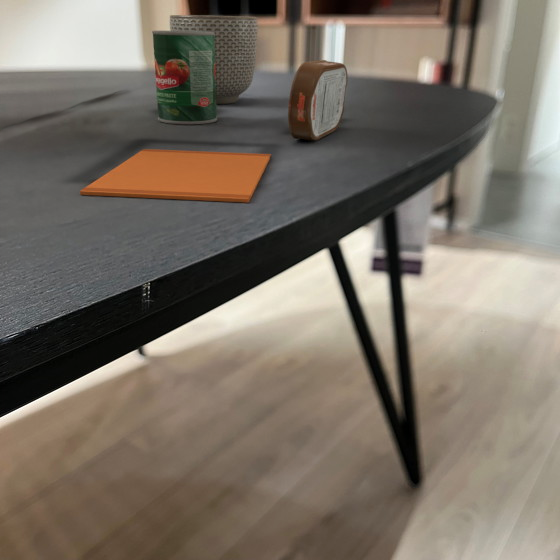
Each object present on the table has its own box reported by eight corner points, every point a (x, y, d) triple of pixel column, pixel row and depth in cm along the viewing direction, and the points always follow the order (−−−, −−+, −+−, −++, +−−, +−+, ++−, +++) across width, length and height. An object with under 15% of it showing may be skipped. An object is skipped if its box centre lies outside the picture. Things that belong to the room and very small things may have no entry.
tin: (325, 125, 76) (328, 57, 72) (348, 127, 75) (352, 58, 71) (284, 145, 63) (286, 63, 59) (311, 148, 62) (315, 65, 58)
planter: (161, 104, 90) (155, 14, 85) (189, 95, 103) (185, 15, 97) (246, 109, 88) (246, 16, 83) (264, 98, 101) (265, 17, 95)
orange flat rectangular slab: (80, 194, 44) (79, 190, 43) (143, 151, 58) (143, 148, 58) (248, 202, 43) (248, 198, 42) (270, 157, 57) (270, 153, 57)
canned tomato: (226, 117, 80) (224, 31, 75) (202, 126, 73) (198, 32, 68) (174, 114, 82) (170, 30, 77) (146, 122, 75) (140, 30, 70)
